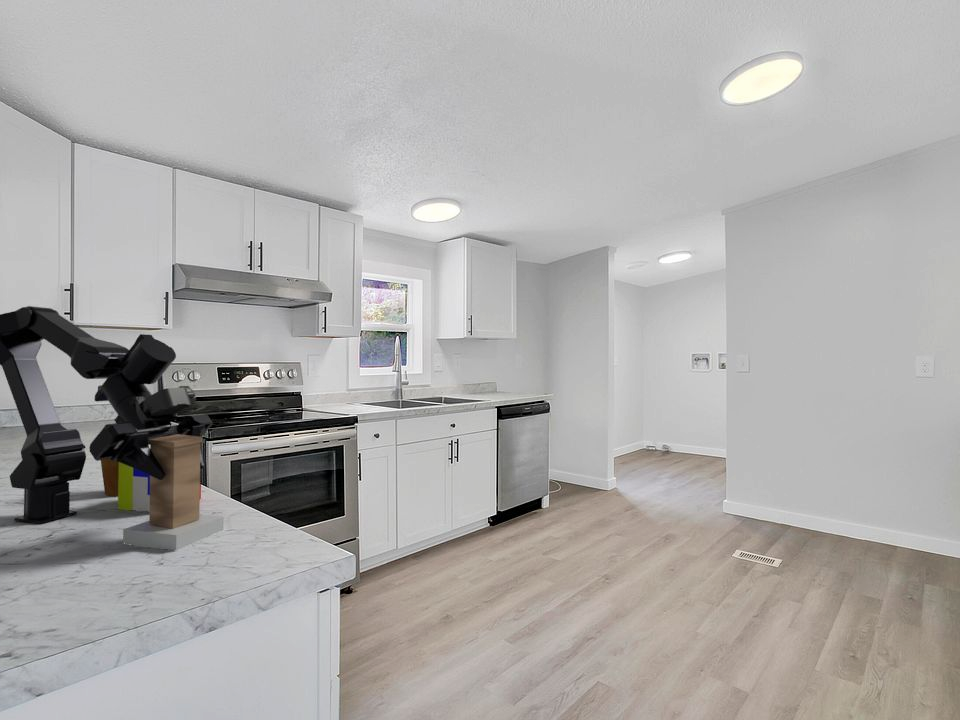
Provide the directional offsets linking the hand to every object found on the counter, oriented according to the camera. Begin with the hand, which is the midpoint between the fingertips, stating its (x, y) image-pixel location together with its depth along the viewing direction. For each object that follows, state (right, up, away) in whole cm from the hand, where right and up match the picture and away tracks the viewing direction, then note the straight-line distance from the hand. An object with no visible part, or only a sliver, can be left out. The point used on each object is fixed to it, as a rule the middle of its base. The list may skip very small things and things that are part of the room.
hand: (183, 473), depth 84 cm
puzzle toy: (-16, -11, +19) cm, 27 cm away
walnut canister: (-2, -8, 0) cm, 8 cm away
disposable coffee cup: (-29, -10, +27) cm, 41 cm away
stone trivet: (-2, -11, 0) cm, 11 cm away
